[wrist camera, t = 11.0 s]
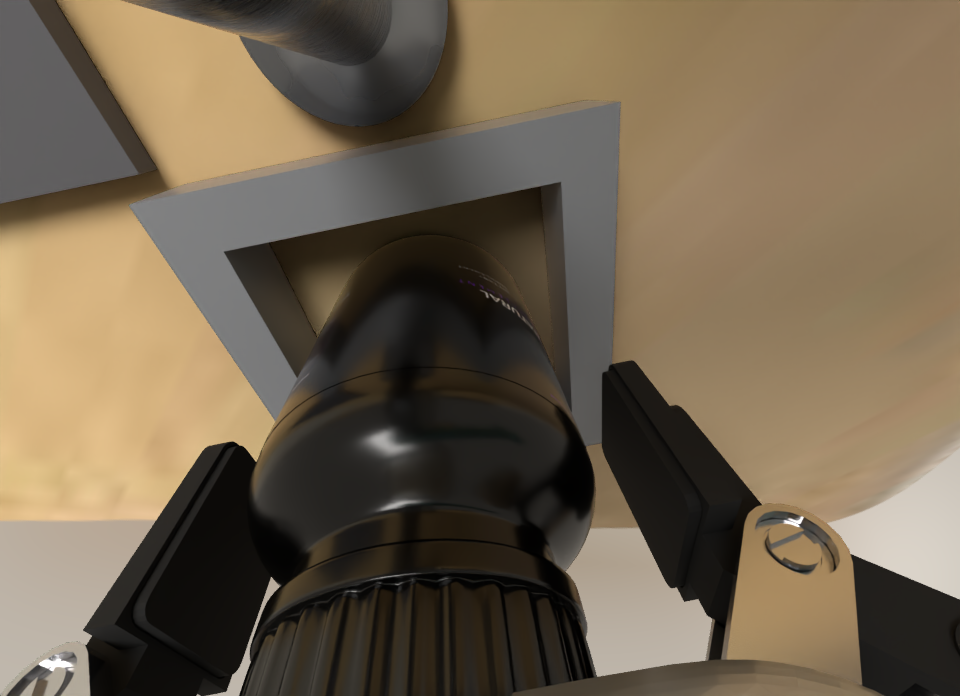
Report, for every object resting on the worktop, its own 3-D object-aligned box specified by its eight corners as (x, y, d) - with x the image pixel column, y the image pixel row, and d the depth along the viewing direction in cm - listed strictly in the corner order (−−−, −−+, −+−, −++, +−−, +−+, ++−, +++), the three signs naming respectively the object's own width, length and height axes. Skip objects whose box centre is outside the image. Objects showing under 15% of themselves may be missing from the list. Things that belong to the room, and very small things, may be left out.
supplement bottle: (547, 252, 14) (858, 689, 4) (493, 396, 17) (575, 815, 7) (347, 204, 12) (-68, 742, 2) (333, 373, 15) (156, 870, 6)
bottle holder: (184, 184, 11) (128, 204, 9) (585, 100, 11) (620, 101, 9) (339, 450, 18) (327, 497, 16) (588, 401, 18) (609, 441, 16)
